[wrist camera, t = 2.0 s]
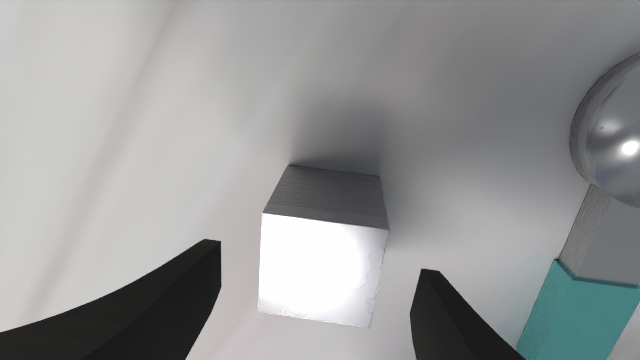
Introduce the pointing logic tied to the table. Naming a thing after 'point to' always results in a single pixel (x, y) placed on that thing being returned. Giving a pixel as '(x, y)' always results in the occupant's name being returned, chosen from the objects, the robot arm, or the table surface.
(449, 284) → the robot arm
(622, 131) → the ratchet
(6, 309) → the table surface
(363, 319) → the socket
